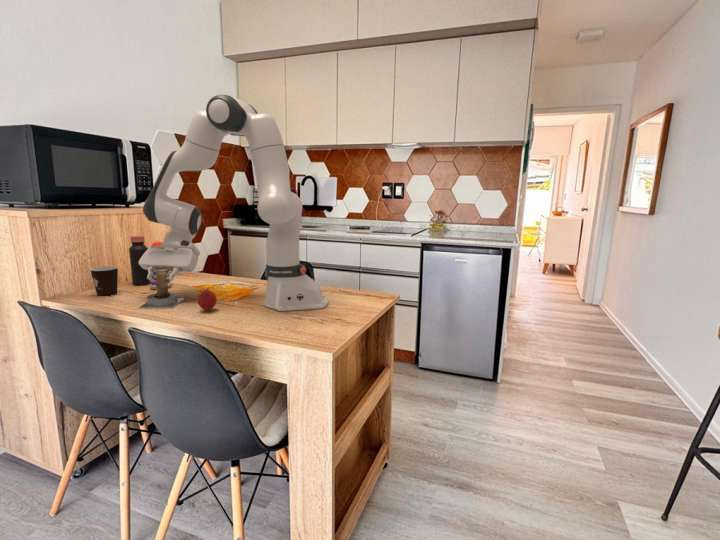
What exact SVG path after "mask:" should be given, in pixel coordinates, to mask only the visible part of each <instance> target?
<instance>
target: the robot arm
mask: <svg viewBox="0 0 720 540" xmlns="http://www.w3.org/2000/svg"><path fill="white" fill-rule="evenodd" d="M185 135H186V136H185V137H184V138H185V139H184V142H183V143H182V146H181V147H180V148H178V150H173V151H171V153H170V154H169V155H168V156H167V158H166V159H165V162H164V163H163V166H162V168H161V170H160V172H159V173H158V177H156V181H155V183H154V185H153V187H152V189H151V191H150V193H149V194H148V196H147V198H146V200H145V201H144V203H143V207H142V213H143V215H144V216H145V218H146V219H147V220H148V221H149V222H151V223H156V224H162V225H164V226H167V227H170V229H169V231H168V232H167V234H165V236H164V239H163V240H162V242H163V243H162V244H161V246H152V245H151V246H152V247H151V246H150V247H149V248H148V247H147V248H148V249H147V250H146V252H145V253H144V254H143V255H142V257H141V258H140V260H139V265H140V266H141V267H142V268H143V269H147V270H148V273H149V274H148V276H147V278H148V279H149V280H154V278H155V275H154V274H153V272H155V269H156V268H167V271H170V272H171V273H169V274H168V275H167V277H166V279H167V280H168V281H170V282H173V281H174V280H175V278H176V277H178V275H180V273H181V272H182V273H183V272H186V273H191V272H193V271H194V270H196V268H197V264H198V261H199V257H200V256H201V252H200V250H199V248H198V247H197V246H196V244H194V243H193V242H192V241H193V239H194V238H195V237H196V235H197V233H198V232H199V230H200V228H201V225H202V223H203V215H202V212H201V210H200V209H199V207H198V206H195V205H193V204H191V203H188V202H185V201H180V200H179V199H175V198H172V197H169V196H168V194H167V193H168V191H169V189H170V186H171V185H172V182H173V180H174V178H175V176H176V175H177V174H178V173H181V172H200V171H201V172H202V171H206V170H208V169H210V168H212V167H213V166H214V165H215V164H216V163H217V162H216V161H217V159H218V157H219V155H220V154H219V153H220V150H221V146H222V142H223V140H224V138H225V137H226V136H228V135H230V136H235V137H236V136H237V137H245V138H246V141H247V144H248V147H249V151H250V156H251V159H252V165H253V168H254V172H255V175H256V177H255V178H256V186H257V197H258V203H257V213H258V216H259V218H260V219H261V220H262V221H264V222H265V223H266V224H268V225H269V229H268V233H267V234H268V235H267V239H266V241H265V242H266V245H265V247H266V249H265V250H266V264H265V279H266V288H265V289H266V290H265V295H264V296H265V297H264V301H263V306H264V307H266V308H269V309H274V310H276V311H278V312H288V311H302V310H304V311H305V310H316V309H317V310H318V309H324V308H326V307H327V306H328V304H329V300H328V297H327V296H326V295H323V293H322V289H321V286H320V283H318V282H317V281H316V280H314V279H313V278H311V277H310V276H309V275H308V274H306V272H307V268H306V266H305V264H302V263H300V235H301V228H302V217H303V216H302V214H303V202H302V200H301V198H300V197H299V196H298V195H297V194H296V193H294V192H293V191H292V189H291V181H290V180H291V179H290V171H291V170H290V166H289V162H288V157H287V154H286V153H287V152H286V148H285V146H284V141H283V137H282V134H281V132H280V129H279V127H278V125H277V121H276V119H275V118H274V117H273V116H272V115H271V114H268V113H264V112H262V113H261V112H258V111H257V109H255V108H254V107H253V106H252V105H251V104H249V103H246V102H244V101H243V99H242V100H241V99H239V98H236V97H234V96H230V95H229V94H216V95H213V97H211V98H210V99H209V100H208V102H207V103H206V107H205V109H202V110H198V111H196V112H195V114H194V115H193V117H192V119H191V121H190V123H189V126H188V129H187V131H186V134H185Z"/></svg>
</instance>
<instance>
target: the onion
mask: <svg viewBox="0 0 720 540" xmlns="http://www.w3.org/2000/svg"><path fill="white" fill-rule="evenodd" d="M217 301H218V299H217V296H216V294H215V293H214V292H213V291H212V290H210V288H209V287H207V286H206V287H204V289H203V291H201V292H200V293H199V295H198V297H197V304H198V306H199V307H200V308H201V309H202V310H204V311H206V312H210V311H211V310H212V309H213V308H214V307H215V306H216V305H217Z"/></svg>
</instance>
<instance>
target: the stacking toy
mask: <svg viewBox="0 0 720 540" xmlns="http://www.w3.org/2000/svg"><path fill="white" fill-rule="evenodd" d="M162 243H163V241H161V240H158V241H157V240H156V241H154V242H152V243H151V246H150V248H151V247H152V246H161V244H162ZM153 274H154V275H155V272H153ZM168 274H170V272H169V271H167V275H168ZM171 287H172V281H168V289H169V288H171ZM149 288H150V289H152V290H156V275H155V278H154V280H150V284H149Z"/></svg>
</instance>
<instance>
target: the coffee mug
mask: <svg viewBox="0 0 720 540" xmlns="http://www.w3.org/2000/svg"><path fill="white" fill-rule="evenodd" d="M118 269H119V267H118V266H116V265H109V266H108V265H107V266H106V265H105V266H98V267H92V268H90V274H91V277H92V282H93V285H94V289H95V292H96V296H97V297H98V296H108V297H112V296H111V295H113V296H116V295H118V276H119V274H118V272H119V270H118ZM115 294H116V295H115Z"/></svg>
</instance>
